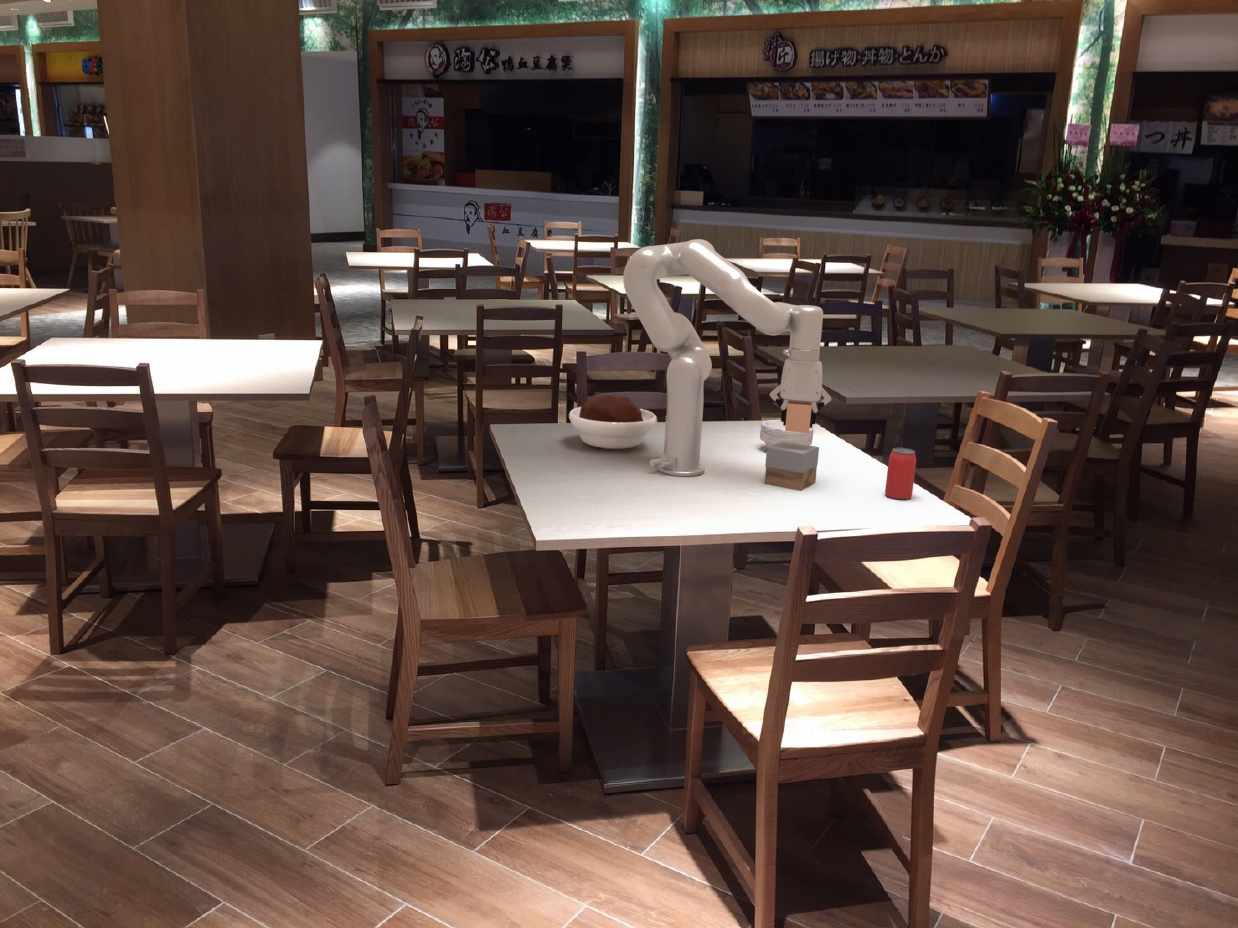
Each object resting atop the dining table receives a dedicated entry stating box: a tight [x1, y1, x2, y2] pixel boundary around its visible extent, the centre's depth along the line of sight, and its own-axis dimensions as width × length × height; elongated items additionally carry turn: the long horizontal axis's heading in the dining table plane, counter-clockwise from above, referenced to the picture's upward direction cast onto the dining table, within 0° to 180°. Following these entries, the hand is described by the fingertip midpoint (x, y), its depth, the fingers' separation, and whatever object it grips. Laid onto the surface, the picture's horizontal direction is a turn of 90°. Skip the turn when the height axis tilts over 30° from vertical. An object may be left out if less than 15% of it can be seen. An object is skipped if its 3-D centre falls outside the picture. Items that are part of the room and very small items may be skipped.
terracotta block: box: [785, 401, 812, 433], centre depth 260 cm, size 6×6×7 cm
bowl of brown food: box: [568, 394, 657, 450], centre depth 294 cm, size 25×25×15 cm
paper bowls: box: [759, 419, 815, 448], centre depth 299 cm, size 15×15×8 cm
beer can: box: [884, 447, 917, 501], centre depth 256 cm, size 7×7×12 cm
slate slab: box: [765, 441, 820, 473], centre depth 263 cm, size 10×10×5 cm
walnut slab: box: [764, 465, 818, 492], centre depth 265 cm, size 10×10×5 cm
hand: (797, 425), depth 261 cm, fingers closed on terracotta block, 6 cm apart
